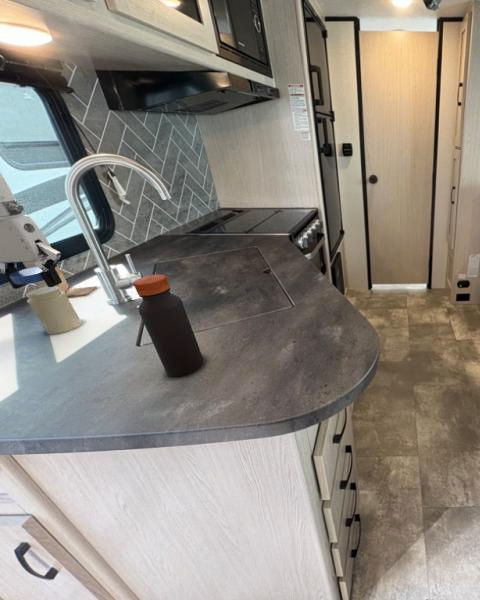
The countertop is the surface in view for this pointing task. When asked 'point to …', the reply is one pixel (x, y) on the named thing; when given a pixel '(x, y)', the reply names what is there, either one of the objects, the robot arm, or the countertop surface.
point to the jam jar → (53, 309)
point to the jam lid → (27, 276)
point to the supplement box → (41, 284)
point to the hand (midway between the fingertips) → (38, 285)
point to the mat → (80, 291)
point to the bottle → (168, 326)
